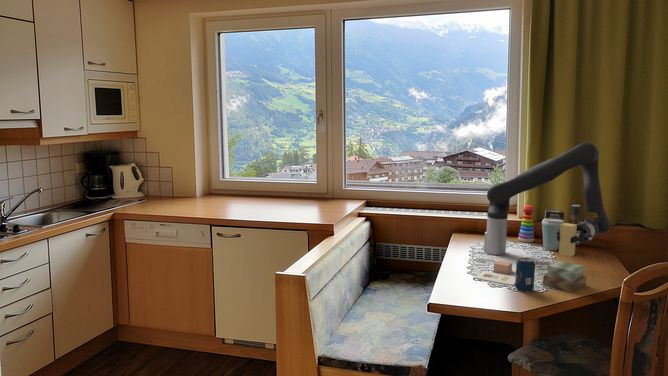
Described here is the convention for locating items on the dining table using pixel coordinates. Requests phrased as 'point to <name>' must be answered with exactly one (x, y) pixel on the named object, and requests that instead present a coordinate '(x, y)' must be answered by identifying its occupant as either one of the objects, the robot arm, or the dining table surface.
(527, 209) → the stacking toy
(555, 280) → the tower base
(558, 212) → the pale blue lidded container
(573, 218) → the sauce bottle
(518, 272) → the soda can
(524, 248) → the dining table surface
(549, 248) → the disposable coffee cup
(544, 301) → the dining table surface
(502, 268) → the brick
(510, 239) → the dining table surface
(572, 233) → the tall brick
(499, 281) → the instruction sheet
